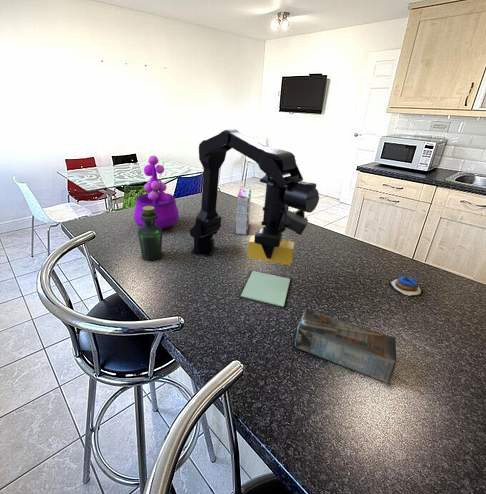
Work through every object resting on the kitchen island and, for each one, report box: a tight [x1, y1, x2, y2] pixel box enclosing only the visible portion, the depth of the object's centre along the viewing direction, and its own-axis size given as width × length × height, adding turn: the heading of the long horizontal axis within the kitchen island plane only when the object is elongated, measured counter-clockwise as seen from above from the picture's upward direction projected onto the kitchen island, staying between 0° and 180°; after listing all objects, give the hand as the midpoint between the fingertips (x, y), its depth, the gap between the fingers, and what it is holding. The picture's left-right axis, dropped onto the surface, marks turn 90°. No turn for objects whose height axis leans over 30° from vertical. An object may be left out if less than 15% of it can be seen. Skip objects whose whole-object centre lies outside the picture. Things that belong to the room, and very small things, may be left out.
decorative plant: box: [133, 155, 180, 230], centre depth 120 cm, size 19×18×30 cm
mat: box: [240, 270, 291, 308], centre depth 86 cm, size 12×14×1 cm
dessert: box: [390, 274, 422, 296], centre depth 87 cm, size 8×7×6 cm
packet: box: [247, 234, 296, 266], centre depth 81 cm, size 12×4×5 cm, turn 69°
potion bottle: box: [137, 206, 163, 262], centre depth 98 cm, size 8×8×18 cm
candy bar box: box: [235, 188, 252, 236], centre depth 121 cm, size 11×5×16 cm, turn 168°
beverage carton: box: [294, 308, 397, 384], centre depth 63 cm, size 8×19×7 cm, turn 61°
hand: (270, 254), depth 82 cm, fingers closed on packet, 4 cm apart
